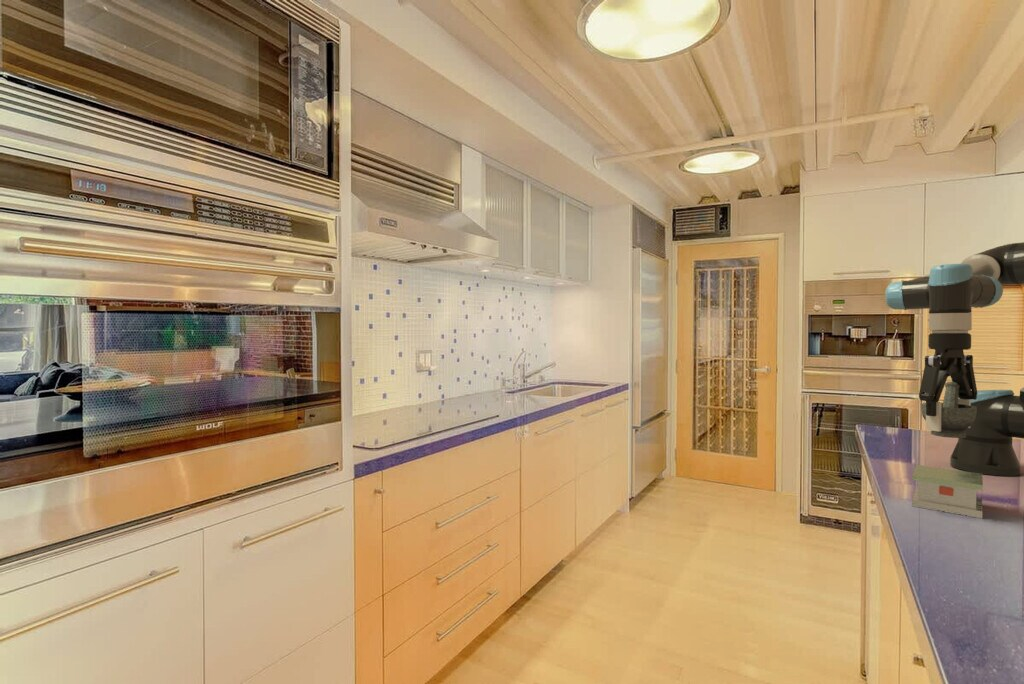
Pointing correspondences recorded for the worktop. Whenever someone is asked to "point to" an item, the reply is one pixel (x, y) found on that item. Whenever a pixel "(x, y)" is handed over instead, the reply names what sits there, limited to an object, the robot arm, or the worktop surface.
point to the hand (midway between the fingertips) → (948, 428)
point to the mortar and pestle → (953, 414)
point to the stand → (948, 490)
